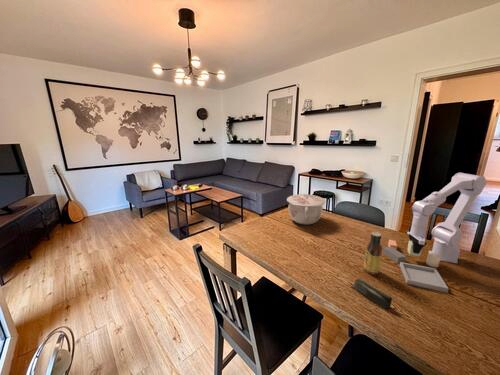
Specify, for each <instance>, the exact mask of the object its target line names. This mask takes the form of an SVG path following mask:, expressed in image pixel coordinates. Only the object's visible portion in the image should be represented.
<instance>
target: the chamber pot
mask: <svg viewBox="0 0 500 375" xmlns="http://www.w3.org/2000/svg"><path fill="white" fill-rule="evenodd" d="M286 202H288V213H289V216H290V218H291V219H292V220H293V222H295V223H297V224H299V225H314V224H315V223H317V222H318V221H319V220H320V219H321V217H322V215H323V211H324V210H323V209H324V208H323V205H325V204H326V200H325V199H324V197H321V196H318V195H314V194H309V193H308V194H304V193H303V194H301V193H299V194H293V195H289V196H288V197H286Z"/></svg>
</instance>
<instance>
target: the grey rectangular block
mask: <svg viewBox="0 0 500 375" xmlns="http://www.w3.org/2000/svg"><path fill="white" fill-rule="evenodd" d="M382 255H385V256H386V257H388V258H389V259H390V260H392V262H395V263H397V264H400V262H403V263H406V260H407V255H405V254H403V253H402V252H400V251H399V250H396V249H394V248H392V247H388V246H385V247H382Z"/></svg>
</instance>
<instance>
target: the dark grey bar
mask: <svg viewBox="0 0 500 375" xmlns="http://www.w3.org/2000/svg"><path fill="white" fill-rule="evenodd" d="M349 287H350V288H353V289H355V290H356V291H358V292H359V293H360V294H362V295H364V296H365V297H367V298H369V299H370V300H372V301H373V302H374V303H376V304H377V305H378V306H380V307H382V308H384V309H386V310H387V309H390V308H391V306H392V301H393V298H392V297H391V296H390V295H388V294H385V293H384V292H382V291H381V290H380V289H378V288H376V287H375V286H373V285H372V284H370V283H369V282H367V281H366V280H362V279H360V278H356V279H355V281H354V285H352V284H350V286H349Z"/></svg>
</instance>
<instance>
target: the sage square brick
mask: <svg viewBox="0 0 500 375" xmlns="http://www.w3.org/2000/svg"><path fill="white" fill-rule="evenodd" d="M406 250H407V253H408V255H410V256H413V257H414V256H415V257H421V255H422V252H423V248H422V249H421V251H420V253H419V254H416V253H413V243H412V241H410V240H408V245H407V249H406Z"/></svg>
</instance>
